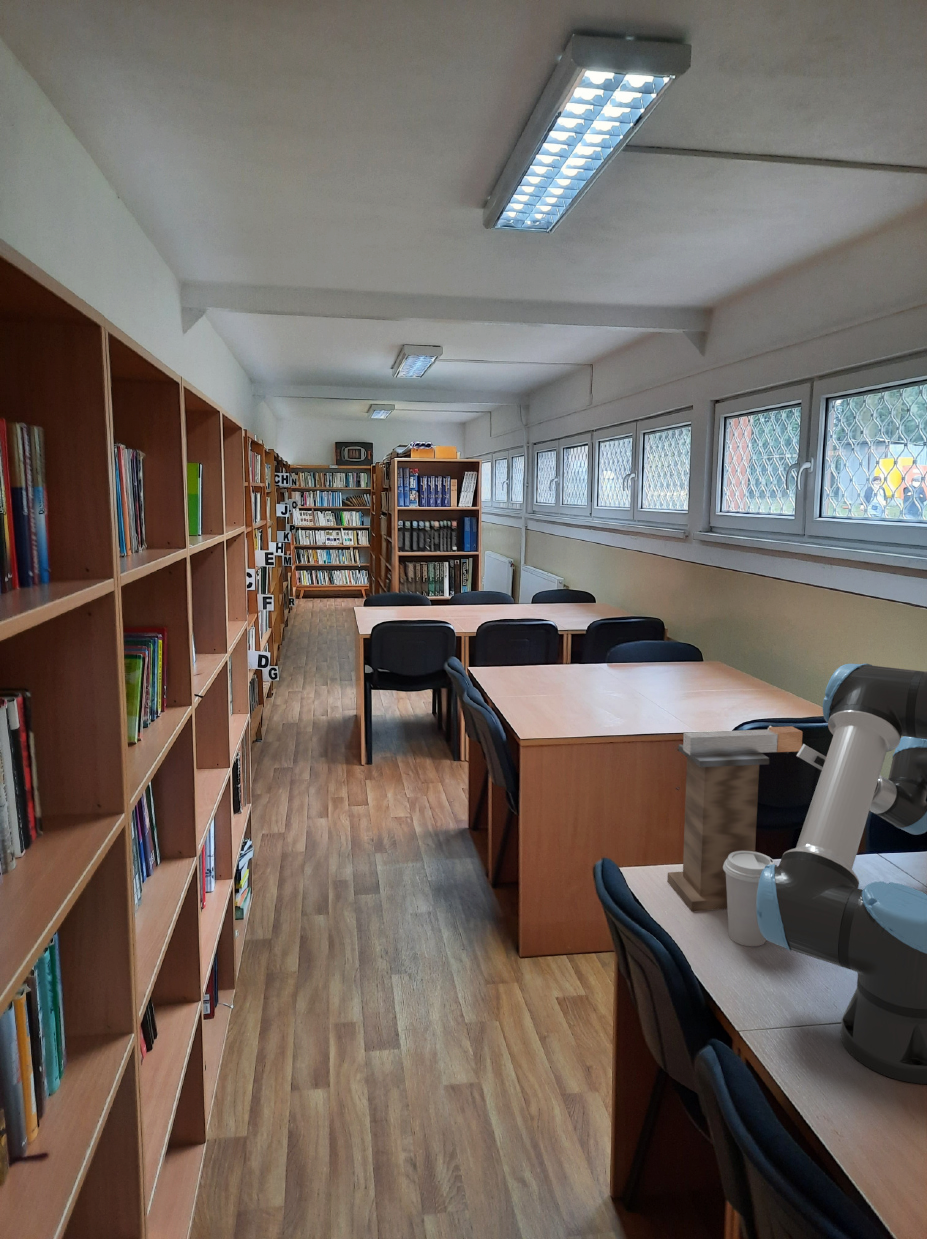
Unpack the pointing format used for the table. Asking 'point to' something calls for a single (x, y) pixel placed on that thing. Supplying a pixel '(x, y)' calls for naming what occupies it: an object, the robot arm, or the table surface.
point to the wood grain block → (743, 741)
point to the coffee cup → (744, 895)
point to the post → (716, 823)
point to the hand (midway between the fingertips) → (783, 740)
